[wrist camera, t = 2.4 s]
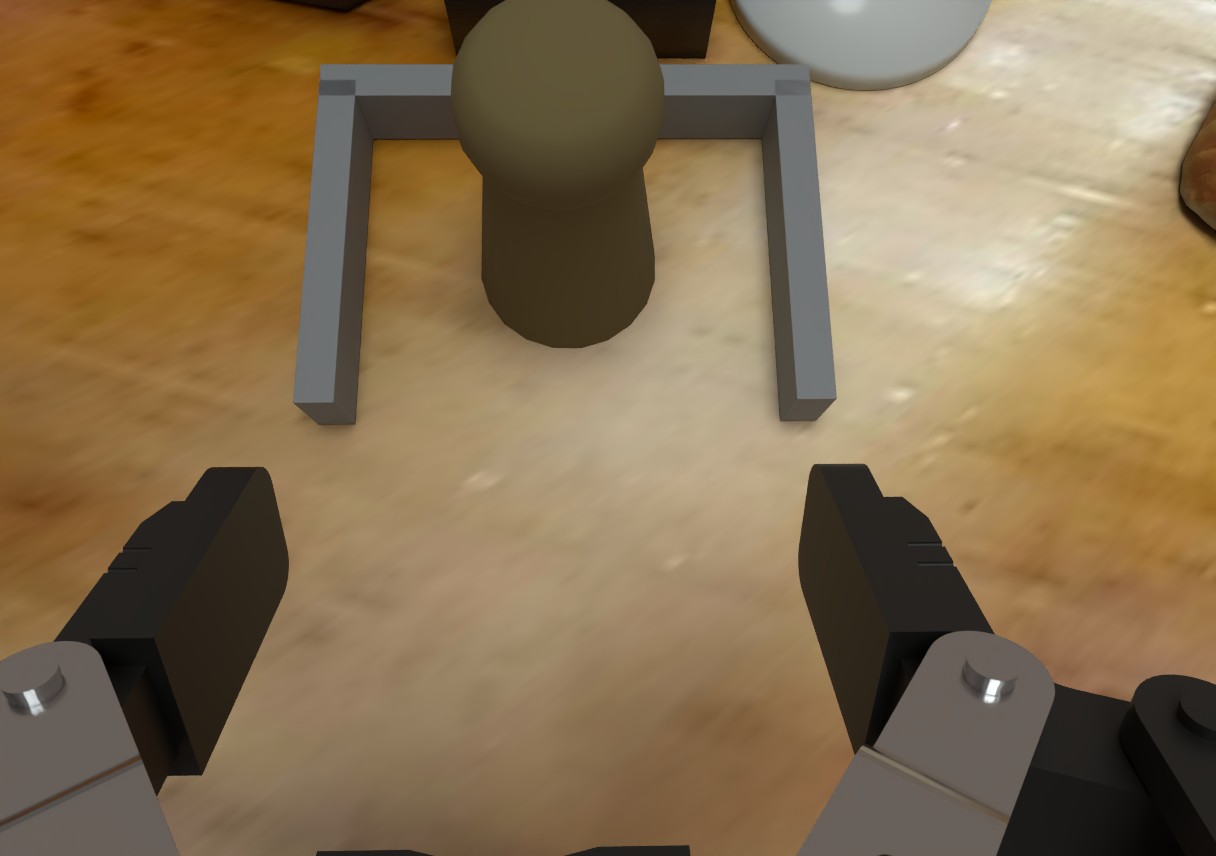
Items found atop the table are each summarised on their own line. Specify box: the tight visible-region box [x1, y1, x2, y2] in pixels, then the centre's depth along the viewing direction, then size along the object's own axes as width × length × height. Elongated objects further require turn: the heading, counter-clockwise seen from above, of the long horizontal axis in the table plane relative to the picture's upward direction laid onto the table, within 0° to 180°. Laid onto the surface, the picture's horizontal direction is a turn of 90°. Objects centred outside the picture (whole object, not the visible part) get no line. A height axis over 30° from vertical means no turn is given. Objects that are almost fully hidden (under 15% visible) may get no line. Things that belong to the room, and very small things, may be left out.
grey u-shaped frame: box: [293, 64, 837, 424], centre depth 29 cm, size 16×12×2 cm
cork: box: [450, 0, 665, 348], centre depth 25 cm, size 6×6×11 cm
